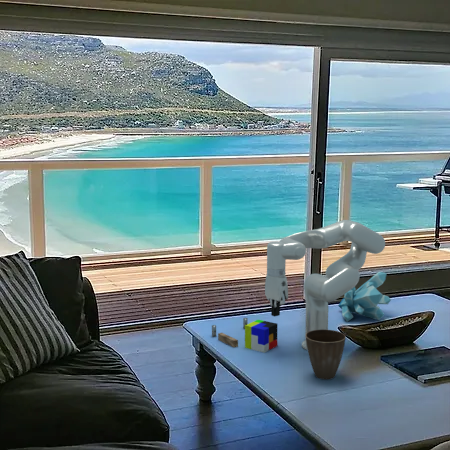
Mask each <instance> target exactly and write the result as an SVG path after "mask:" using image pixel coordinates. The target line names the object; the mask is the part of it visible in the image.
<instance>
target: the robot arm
mask: <svg viewBox="0 0 450 450" xmlns="http://www.w3.org/2000/svg"><path fill="white" fill-rule="evenodd" d="M346 241H348V242H351V246H350V249H349V251H348V252H347V253H345V254H344V255H343V256H342V257H340V258H339V259H337V260H335V261H334V262H332V263H331V264H329V266H327V267H326V270H325V276H324V275H322V274H320V273H311V274H309V275H308V276H307V277H306V278H305V280H304V283H303V291H304V299H305V332H304V334H305V337H304V338H305V340H303V341H302V342H301V347H302V348H303V349H304V350H306V351H308V349H307V343H306V333H308V332H310V331H313V330H322V329H324V330H329V303H331V302H334V301H336V300H338V299H339V298H341V297H342V296H344V294H345V293H347V292H348V291H350V290H351V289H352V288H354V287H355V288H356V286H357V285H358V283H359V282H360V277H361V275H360V271H359V270H361V268H363V266H364V265H365V263H366V259H367V254H368V253H369V254H373V255H376V254H380V253H381V252H383V251H384V249H385V247H386V240H385V238H384V236H383V235H381V234H379V233H378V232H376V231H375V230H373V229H371V228H369V227H367V226H366V225H364V224H362V223H360V222H357V221H353V220H349V219H343V220H340V221H337V222H334V223H332V224H327V225H326V226H323V227H319V228H316V229H309V230H305V231H300V232H295V233H293V234H290V235H288V236H285V237H283V238H281V239H280V240H279V241H270V242H268V243H267V247H266V275H265V280H264V281H265V283H264V295H265V297H266V299H267V300H268V301H269V305H270V306H271V308H270V309H271V311H270V313H271V315H270V316H272V317H278V316H280V315H281V312H280V311H281V306H282V305H285V304H286V301H287V300H288V299H289V286H288V277H287V276H286V263H287V262H286V260H292V261H297V260H301V259H303V258H304V257H305V256H306V253H307V249H327V248H329V247H331V246H332V247H333V246H334V245H337V244H340V243H342V242H346Z"/></svg>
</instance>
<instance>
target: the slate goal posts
mask: <svg viewBox="0 0 450 450" xmlns="http://www.w3.org/2000/svg"><path fill="white" fill-rule="evenodd" d="M242 318H243V319H242V324H243V328H242V329H243V330H245V325H247V324H249V323H248V317H242ZM211 337H212V338H216V337H217V325H216V324H212V325H211Z"/></svg>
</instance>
